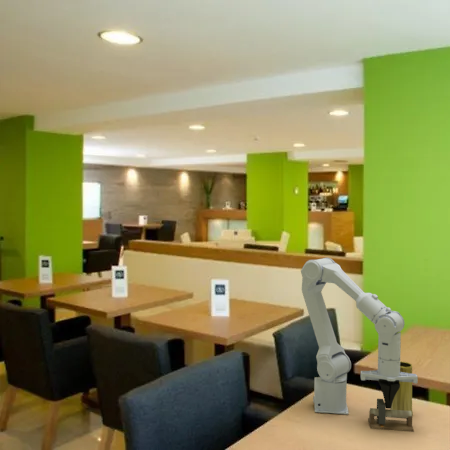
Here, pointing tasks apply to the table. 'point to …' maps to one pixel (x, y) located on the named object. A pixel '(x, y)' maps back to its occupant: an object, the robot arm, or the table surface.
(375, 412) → the pipe stand
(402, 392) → the vase
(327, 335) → the robot arm
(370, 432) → the table surface
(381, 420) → the dark grey square frame
